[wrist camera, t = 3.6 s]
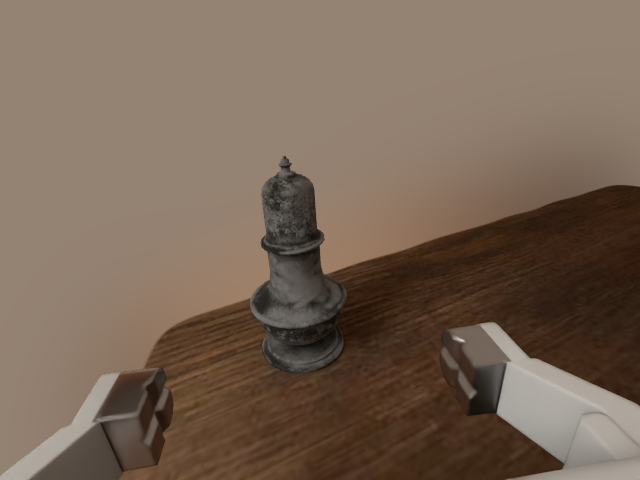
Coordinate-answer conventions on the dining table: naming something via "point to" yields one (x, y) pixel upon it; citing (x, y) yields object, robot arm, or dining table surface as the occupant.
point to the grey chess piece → (296, 280)
